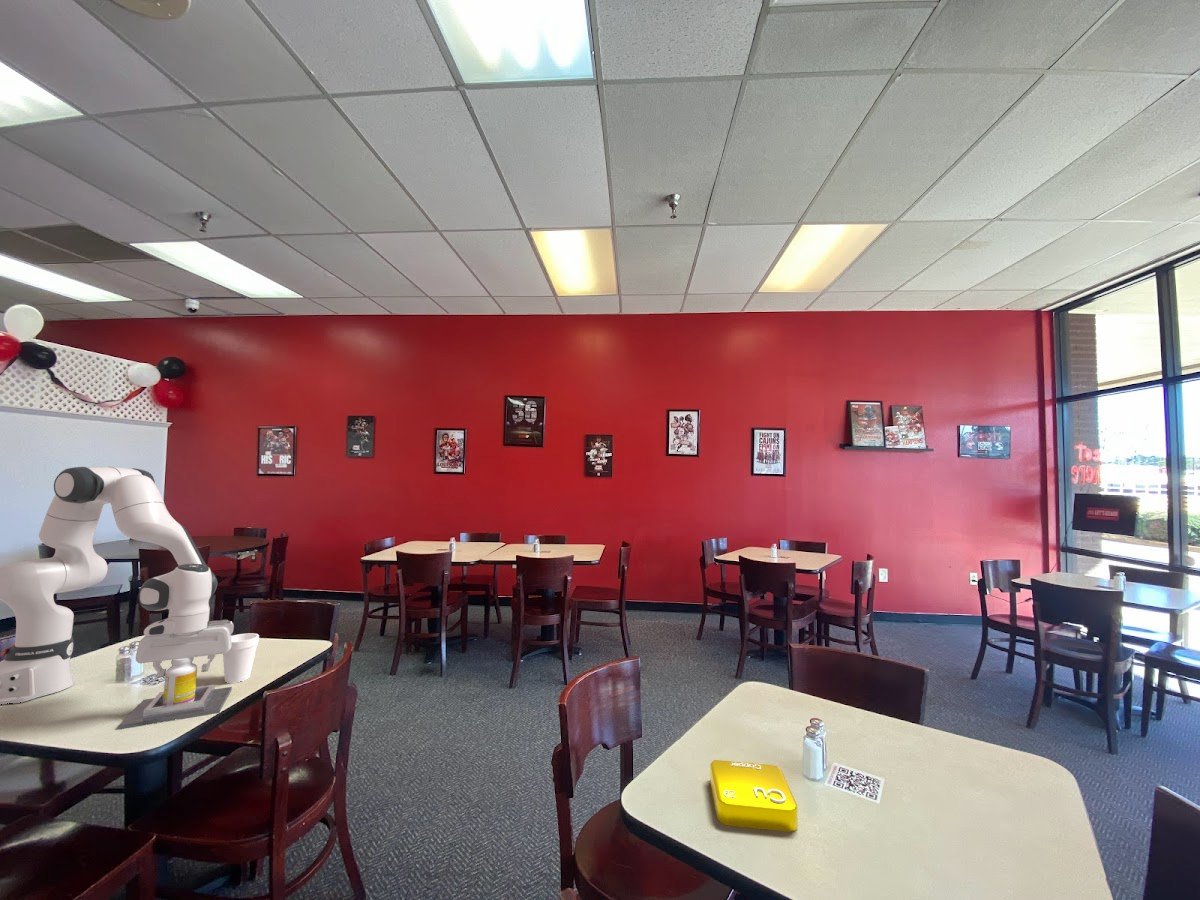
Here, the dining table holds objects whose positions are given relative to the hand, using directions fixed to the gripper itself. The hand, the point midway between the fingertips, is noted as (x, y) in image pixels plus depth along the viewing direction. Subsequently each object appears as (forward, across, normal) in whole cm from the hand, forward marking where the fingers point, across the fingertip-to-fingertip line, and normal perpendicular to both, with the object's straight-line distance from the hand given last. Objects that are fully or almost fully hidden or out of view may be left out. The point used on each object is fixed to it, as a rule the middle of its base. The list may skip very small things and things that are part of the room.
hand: (183, 673), depth 131 cm
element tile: (+10, -113, +102) cm, 152 cm away
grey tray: (+9, 0, 0) cm, 9 cm away
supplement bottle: (+8, 0, 0) cm, 8 cm away
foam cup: (+9, -10, -17) cm, 22 cm away
